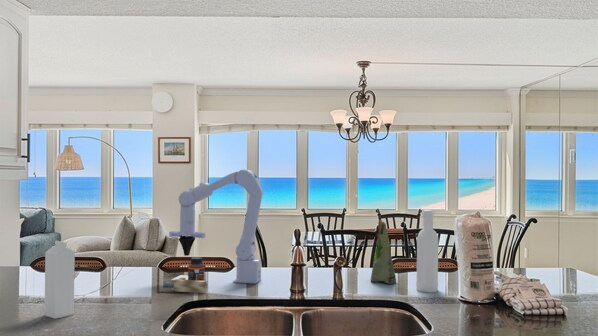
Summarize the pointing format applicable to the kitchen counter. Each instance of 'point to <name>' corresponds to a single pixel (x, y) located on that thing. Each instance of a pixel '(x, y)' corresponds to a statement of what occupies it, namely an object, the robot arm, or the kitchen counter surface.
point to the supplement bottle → (196, 269)
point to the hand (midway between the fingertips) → (186, 255)
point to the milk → (59, 281)
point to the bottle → (427, 255)
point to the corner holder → (190, 285)
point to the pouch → (383, 258)
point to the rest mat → (180, 277)
